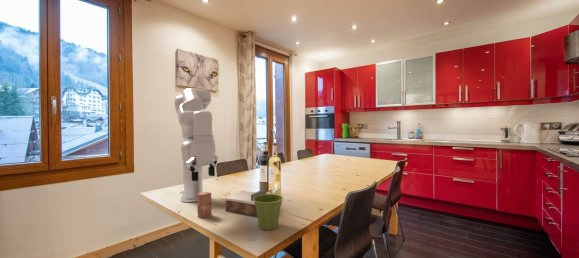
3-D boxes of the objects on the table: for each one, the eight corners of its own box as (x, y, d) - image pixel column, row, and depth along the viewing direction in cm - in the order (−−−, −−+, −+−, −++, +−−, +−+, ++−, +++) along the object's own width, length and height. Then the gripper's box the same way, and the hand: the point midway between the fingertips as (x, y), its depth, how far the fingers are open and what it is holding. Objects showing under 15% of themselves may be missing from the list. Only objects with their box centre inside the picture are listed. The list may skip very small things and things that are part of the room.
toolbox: (225, 211, 110) (225, 200, 110) (242, 202, 122) (242, 193, 122) (259, 217, 102) (258, 206, 102) (273, 207, 114) (273, 197, 114)
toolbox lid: (225, 200, 110) (225, 192, 110) (242, 192, 122) (242, 185, 121) (258, 205, 102) (258, 197, 102) (273, 196, 114) (273, 189, 114)
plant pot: (289, 225, 94) (289, 197, 94) (267, 236, 85) (267, 205, 85) (269, 218, 102) (268, 191, 101) (246, 227, 93) (246, 198, 93)
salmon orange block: (197, 217, 104) (197, 194, 104) (204, 213, 107) (204, 191, 107) (204, 218, 102) (204, 195, 102) (211, 215, 106) (211, 192, 106)
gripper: (210, 137, 114) (211, 173, 114) (180, 140, 98) (181, 182, 99) (223, 138, 110) (223, 174, 111) (193, 141, 95) (194, 184, 95)
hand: (203, 178), depth 105 cm, fingers open, 9 cm apart
